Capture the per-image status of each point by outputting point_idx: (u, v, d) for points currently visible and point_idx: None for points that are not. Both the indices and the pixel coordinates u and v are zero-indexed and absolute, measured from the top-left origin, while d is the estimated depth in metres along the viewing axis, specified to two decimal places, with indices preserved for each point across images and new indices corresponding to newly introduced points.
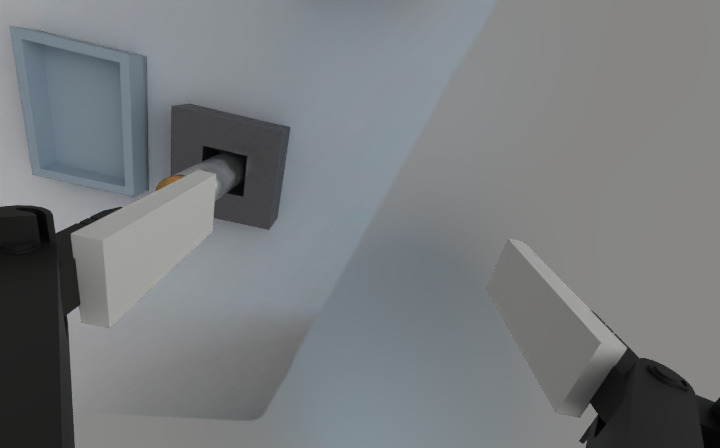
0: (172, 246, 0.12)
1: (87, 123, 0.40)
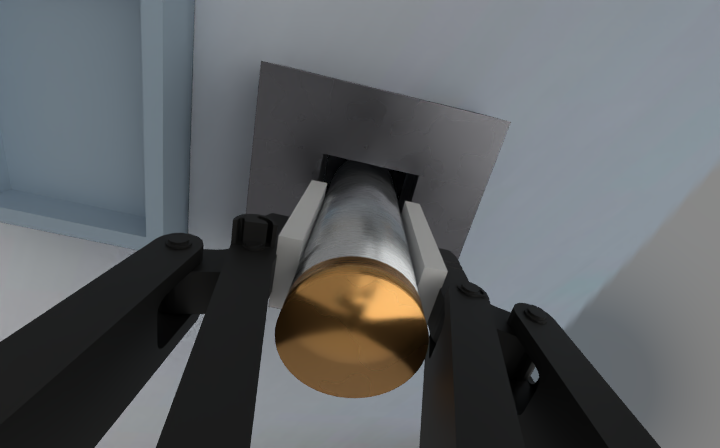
0: None
1: (68, 107, 0.20)
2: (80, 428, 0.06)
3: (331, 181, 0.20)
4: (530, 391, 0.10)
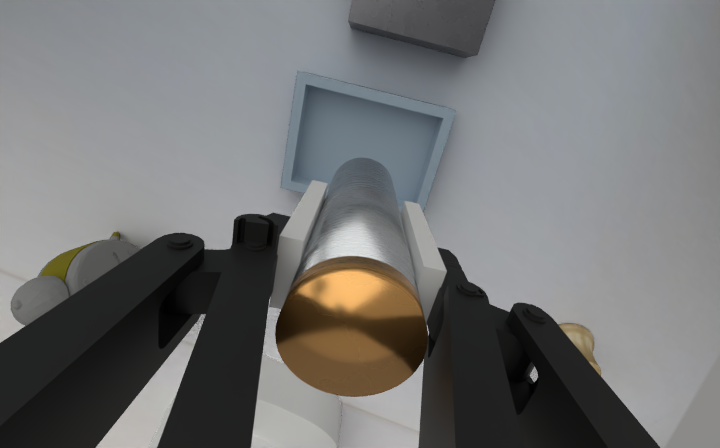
0: None
1: (370, 155, 0.38)
2: (81, 427, 0.06)
3: None
4: (529, 391, 0.10)
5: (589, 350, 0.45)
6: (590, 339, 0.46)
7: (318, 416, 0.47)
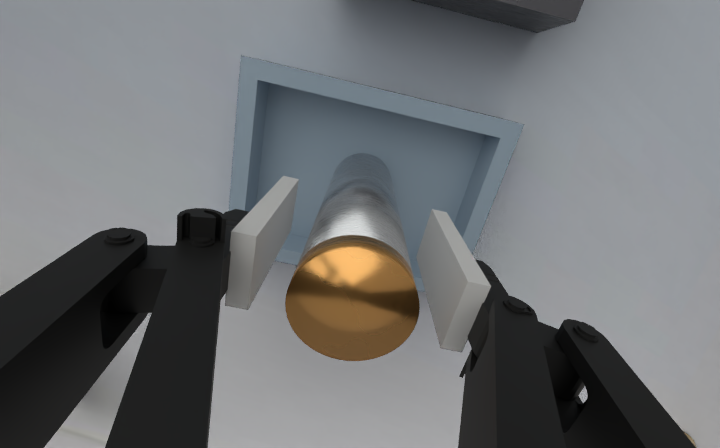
0: (275, 242, 0.14)
1: None
2: (20, 435, 0.06)
3: None
4: (577, 411, 0.09)
5: None
6: None
7: None
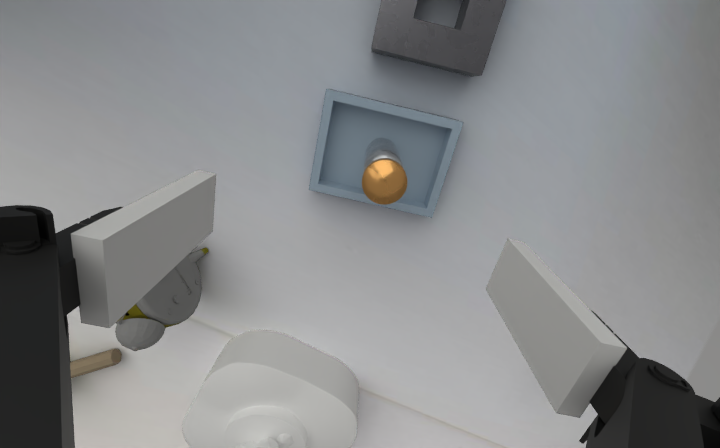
0: (172, 246, 0.12)
1: None
2: None
3: None
4: None
5: None
6: None
7: (340, 392, 0.51)
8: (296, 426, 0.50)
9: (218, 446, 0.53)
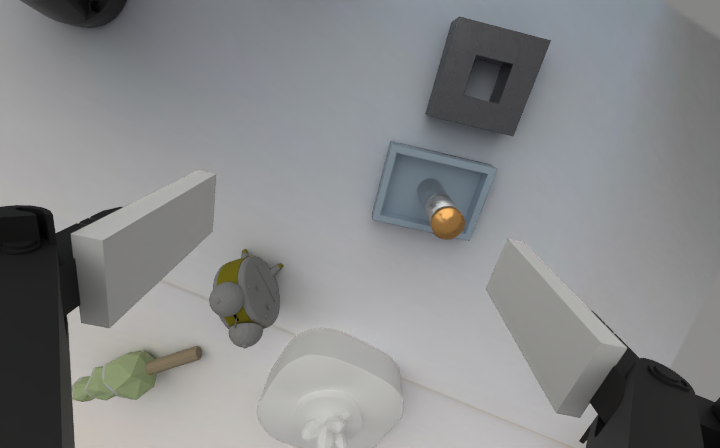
0: (172, 246, 0.12)
1: None
2: None
3: (419, 188, 0.52)
4: None
5: None
6: None
7: (390, 378, 0.62)
8: (355, 406, 0.61)
9: (287, 424, 0.65)
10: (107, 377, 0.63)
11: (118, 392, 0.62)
